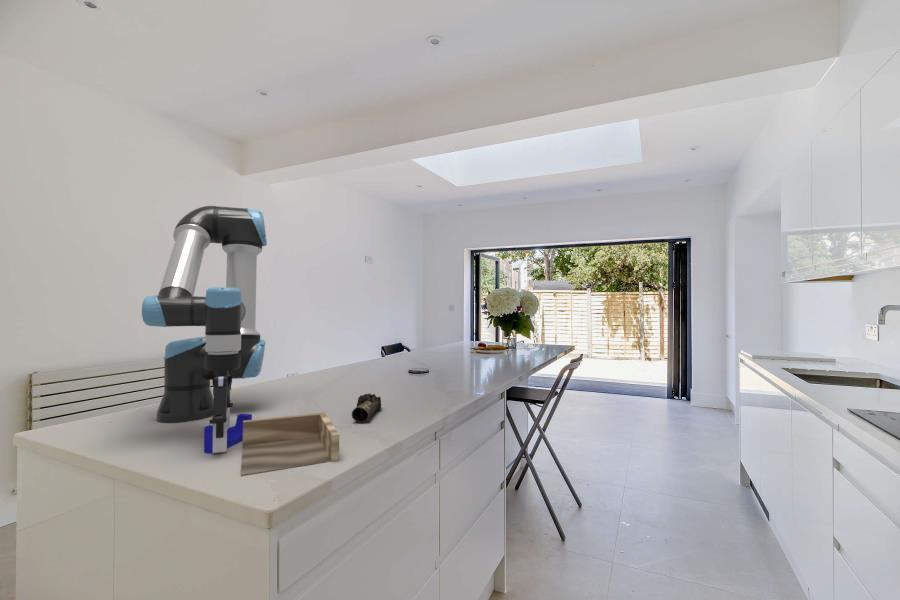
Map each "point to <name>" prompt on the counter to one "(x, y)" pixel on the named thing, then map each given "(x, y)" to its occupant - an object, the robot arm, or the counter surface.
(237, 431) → the cable clip
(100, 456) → the counter surface
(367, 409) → the metal pipe
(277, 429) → the corner board
